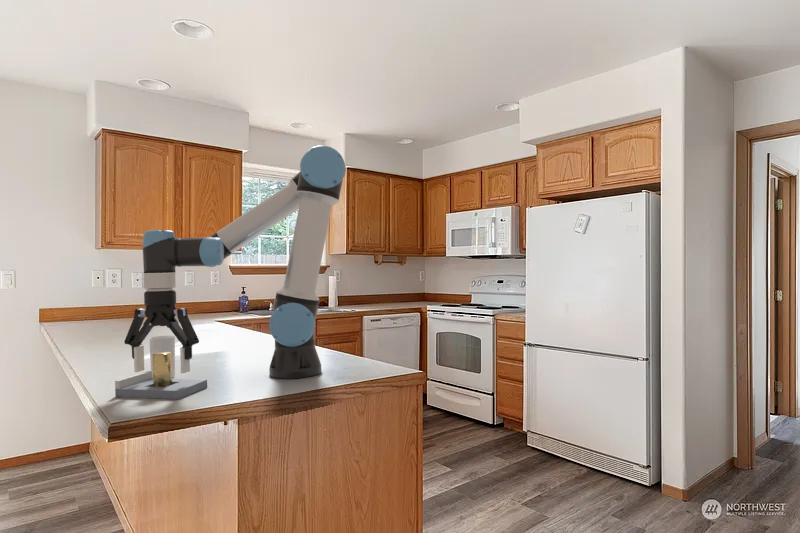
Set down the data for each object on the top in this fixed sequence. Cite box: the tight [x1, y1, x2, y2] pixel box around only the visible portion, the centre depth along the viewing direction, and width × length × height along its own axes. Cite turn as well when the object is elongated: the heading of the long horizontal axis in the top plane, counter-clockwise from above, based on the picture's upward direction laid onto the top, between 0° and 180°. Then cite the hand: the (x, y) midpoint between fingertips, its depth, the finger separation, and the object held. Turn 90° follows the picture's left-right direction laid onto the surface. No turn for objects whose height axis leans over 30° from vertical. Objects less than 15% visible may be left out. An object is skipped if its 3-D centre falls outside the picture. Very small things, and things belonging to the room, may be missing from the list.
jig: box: [114, 370, 208, 400], centre depth 132 cm, size 18×12×4 cm, turn 78°
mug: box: [149, 335, 176, 379], centre depth 152 cm, size 10×7×12 cm, turn 5°
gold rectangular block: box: [153, 352, 173, 387], centre depth 132 cm, size 4×4×10 cm
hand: (162, 371), depth 132 cm, fingers open, 13 cm apart
